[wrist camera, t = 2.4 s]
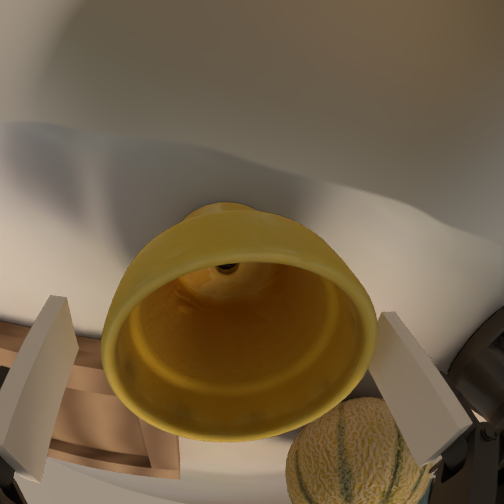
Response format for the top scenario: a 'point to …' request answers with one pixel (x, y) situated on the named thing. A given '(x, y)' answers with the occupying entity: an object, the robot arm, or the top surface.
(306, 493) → the cantaloupe
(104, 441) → the walnut tray
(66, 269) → the top surface
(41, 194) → the top surface
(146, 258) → the plant pot
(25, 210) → the top surface
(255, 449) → the top surface
